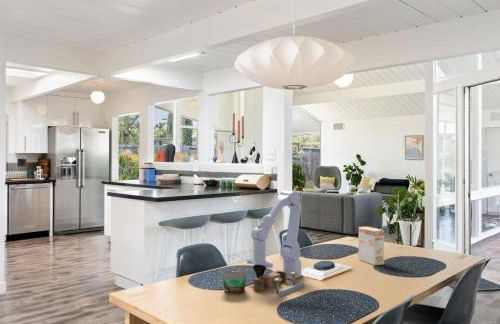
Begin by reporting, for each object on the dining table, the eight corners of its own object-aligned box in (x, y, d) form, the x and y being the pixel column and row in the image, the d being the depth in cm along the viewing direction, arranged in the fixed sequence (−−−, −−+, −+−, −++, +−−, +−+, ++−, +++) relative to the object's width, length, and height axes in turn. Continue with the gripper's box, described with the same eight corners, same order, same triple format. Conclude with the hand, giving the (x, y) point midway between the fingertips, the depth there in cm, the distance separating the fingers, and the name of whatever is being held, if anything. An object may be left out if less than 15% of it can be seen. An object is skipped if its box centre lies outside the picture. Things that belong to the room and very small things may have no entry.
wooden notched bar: (278, 280, 214) (278, 270, 214) (286, 282, 211) (286, 271, 211) (253, 289, 199) (253, 278, 199) (262, 291, 196) (262, 280, 196)
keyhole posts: (292, 284, 207) (292, 271, 207) (299, 285, 204) (299, 272, 204) (271, 293, 194) (271, 279, 194) (278, 294, 192) (278, 280, 192)
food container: (224, 296, 191) (223, 273, 190) (221, 291, 197) (221, 270, 196) (250, 293, 194) (250, 271, 194) (247, 289, 200) (247, 268, 200)
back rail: (302, 286, 204) (302, 281, 204) (304, 286, 204) (304, 282, 204) (279, 295, 190) (279, 291, 190) (281, 296, 190) (281, 291, 190)
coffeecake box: (384, 264, 243) (384, 229, 242) (374, 265, 240) (374, 230, 240) (368, 258, 257) (367, 226, 256) (358, 259, 254) (357, 226, 254)
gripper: (243, 251, 211) (243, 279, 211) (266, 256, 201) (266, 285, 202) (252, 249, 216) (252, 276, 216) (275, 253, 207) (275, 281, 207)
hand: (259, 280), depth 209 cm, fingers closed
